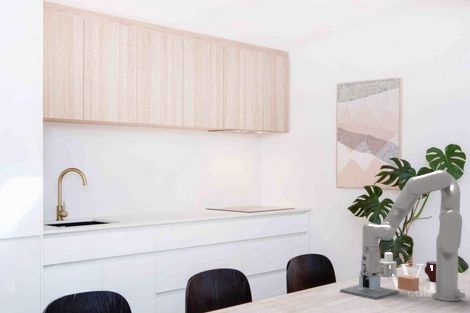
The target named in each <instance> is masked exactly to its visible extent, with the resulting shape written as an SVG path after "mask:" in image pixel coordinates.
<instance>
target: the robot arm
mask: <svg viewBox="0 0 470 313" xmlns="http://www.w3.org/2000/svg"><path fill="white" fill-rule="evenodd" d="M436 191H440V208H439V215H438V220H439V228H438V230H439V231H438V235H437V237H436V242H435V244H436V245H435V247H436V248H435V251H436V282H435V292H434V293H432V294H431V295H432V296H431V297H432V298H433V299H435V300H438V301H444V302H458V301H460V300H462V299H466V296H467V295H466V293H465V292H460V288H459V287H458V286H459V284H458V277H459V275H458V273H459V249H460V246H461V242H462V241H461V240H462V231H463V217H462V215H461V211H460V210H461V189H460V185H459V183H458V181H457V180H456V179H455V177H454V176H452V175H451V174H450V173H449V172H448V171H446V170H443V169H437V170H435V171H432V172H430V173H426V174H422V175H419V176H412V177H410V178H409V179H408V180H407V181H406V183H405V185H403V188H402V189H401V191H400V192H399V194H398V196H397V197H396V199H395V200H394V203H393V204H392V206H391V208H390V210H389V212H388V213H387V215H386V217H385V218H384V220H383V221H382V222H381V224H377V223H374V222H373V223H372V222H366V223H364V224H363V225H362V250H361V251H362V253H361V254H362V255H361V262H360V271H359V275H361V276H362V279H363V287H365V288H369V280H368V278H369V274H372V275H377V276H379V275H378V273H379V271H380V260H381V255H380V252H379V246H380V245H379V244H380V243H379V240H384V241H391V240H392V239H394V237H395V235H396V232H397V230H398V229H399V227H400V225H401V223H402V222H403V220H405V218H406V217H407V216H408V215H409V214H410V213H411V211H412V210H413V208H414V207H415V205H416V204H417V202H418V200H419V199H420V197H421V196H422V195H425V194H429V193H433V192H436ZM365 274H367V276H366V275H365ZM458 288H459V289H458Z"/></svg>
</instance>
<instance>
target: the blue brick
mask: <svg viewBox="0 0 470 313" xmlns="http://www.w3.org/2000/svg"><path fill="white" fill-rule="evenodd" d="M365 275H366V276H367V274H365ZM358 278H359V279H358V285H359V288H364V289H369V290H377V289H380V287H381V275H378V276H377V275H372V274H369V278H368V280H369V288H365V287H363V279H362V276H361V274H359V277H358Z"/></svg>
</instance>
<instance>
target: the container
mask: <svg viewBox="0 0 470 313" xmlns="http://www.w3.org/2000/svg"><path fill="white" fill-rule="evenodd" d="M397 264H398V263H397V261H394V254H393V252H391V251H384V250H383V251H382V252H380V271H379V273H378V276H380V277H386V278H388V277H389V278H390V277H393V276H392V274H394V275H395V276H394V277H397ZM389 265H391V269H389Z"/></svg>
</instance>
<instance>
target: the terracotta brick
mask: <svg viewBox="0 0 470 313" xmlns="http://www.w3.org/2000/svg"><path fill="white" fill-rule="evenodd" d="M398 288H399V289H398ZM397 289H398V290H404V291H409V292H415V291H418V290H420V278H419V277H416V276H411V275H405V274H404V275H399V276H398V277H397Z"/></svg>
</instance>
